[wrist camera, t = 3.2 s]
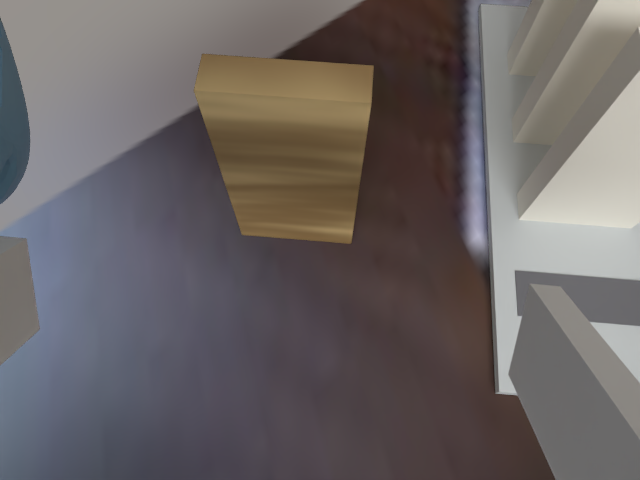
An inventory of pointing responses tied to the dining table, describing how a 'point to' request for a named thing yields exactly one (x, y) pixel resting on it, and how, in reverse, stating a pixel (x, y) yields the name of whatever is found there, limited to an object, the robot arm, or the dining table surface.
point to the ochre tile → (288, 141)
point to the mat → (544, 224)
